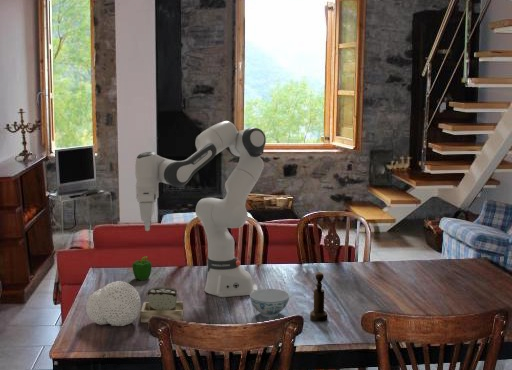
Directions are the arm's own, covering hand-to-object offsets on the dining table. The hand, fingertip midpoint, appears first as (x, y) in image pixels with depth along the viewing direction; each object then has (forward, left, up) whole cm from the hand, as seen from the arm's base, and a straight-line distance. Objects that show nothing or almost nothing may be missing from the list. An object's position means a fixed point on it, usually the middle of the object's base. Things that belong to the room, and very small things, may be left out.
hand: (148, 227), depth 274 cm
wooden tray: (-6, +20, -30) cm, 37 cm away
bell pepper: (+6, -29, -30) cm, 42 cm away
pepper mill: (-65, +25, -30) cm, 76 cm away
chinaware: (-47, +19, -30) cm, 59 cm away
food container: (-7, +20, -29) cm, 36 cm away
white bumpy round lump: (+11, +27, -30) cm, 42 cm away
